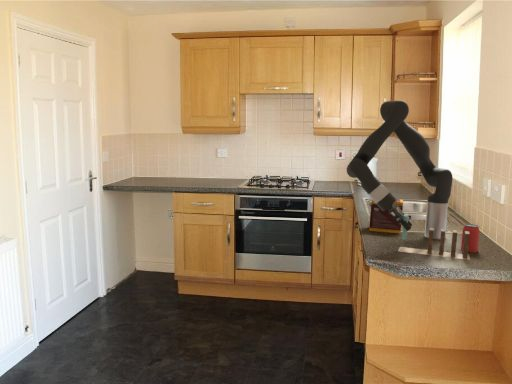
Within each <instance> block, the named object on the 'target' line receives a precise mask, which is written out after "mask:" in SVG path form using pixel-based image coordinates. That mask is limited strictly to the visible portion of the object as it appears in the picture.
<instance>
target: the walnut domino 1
mask: <svg viewBox="0 0 512 384" xmlns="http://www.w3.org/2000/svg"><path fill="white" fill-rule="evenodd" d="M433 232H434V228H430V229H429V238H428V242H427V250H428V252H427V254H432V251H433V241H434V239H433Z"/></svg>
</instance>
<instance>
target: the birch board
mask: <svg viewBox="0 0 512 384" xmlns="http://www.w3.org/2000/svg"><path fill="white" fill-rule="evenodd" d="M398 252H399V253H400V252H401V253H411V254H416V255H417V254H418V255H426V256H427V255H428V256H434V257H444V258H452V259H459V260H460V259H461V260H468V261H470V260H471V258H470V257H471V256H470V254H468V256H467V258H463V253H457V252H456V253H455V257H451V252H447V251H444V252H443V256H442V255H439V250H432V254H427V252H428V249H422V248H414V247H405V246H399V248H398Z"/></svg>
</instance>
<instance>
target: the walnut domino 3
mask: <svg viewBox="0 0 512 384" xmlns="http://www.w3.org/2000/svg"><path fill="white" fill-rule="evenodd" d="M451 237H452V238H451V246H450V253H451V257H455V253H457V252H456V251H457V242H458V230H456V229H453V230H452V236H451Z"/></svg>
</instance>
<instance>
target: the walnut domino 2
mask: <svg viewBox="0 0 512 384" xmlns="http://www.w3.org/2000/svg"><path fill="white" fill-rule="evenodd" d="M445 240H446V238H445V229H441V237H440V239H439V250H438V251H439V255H442V256H443V252H445ZM442 256H441V257H442Z"/></svg>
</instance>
